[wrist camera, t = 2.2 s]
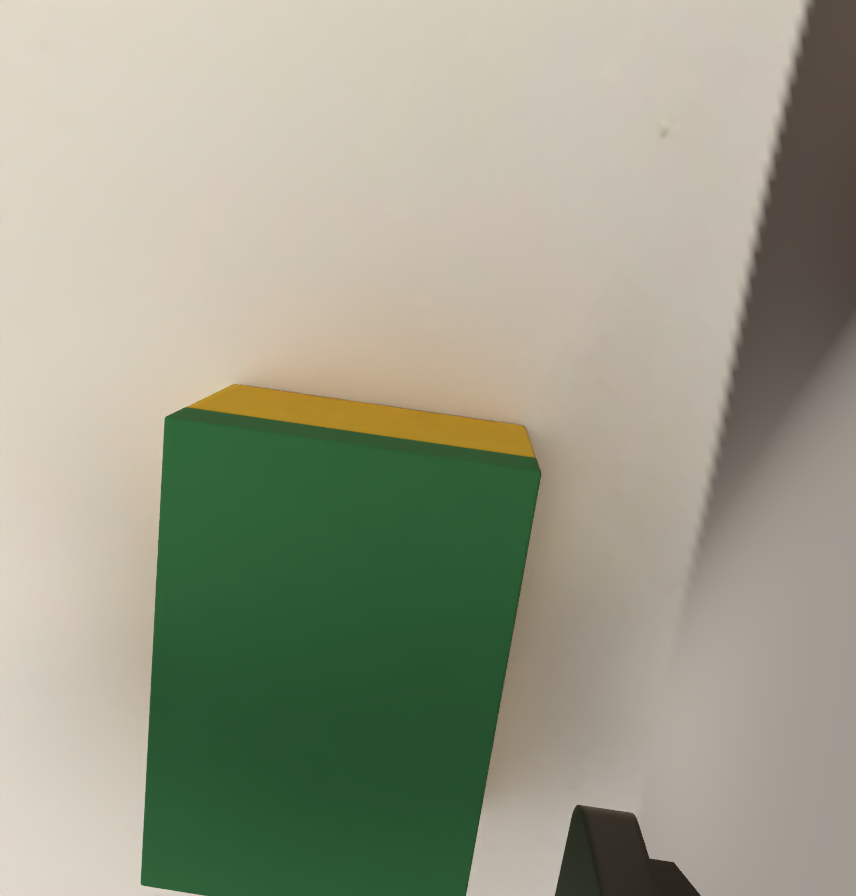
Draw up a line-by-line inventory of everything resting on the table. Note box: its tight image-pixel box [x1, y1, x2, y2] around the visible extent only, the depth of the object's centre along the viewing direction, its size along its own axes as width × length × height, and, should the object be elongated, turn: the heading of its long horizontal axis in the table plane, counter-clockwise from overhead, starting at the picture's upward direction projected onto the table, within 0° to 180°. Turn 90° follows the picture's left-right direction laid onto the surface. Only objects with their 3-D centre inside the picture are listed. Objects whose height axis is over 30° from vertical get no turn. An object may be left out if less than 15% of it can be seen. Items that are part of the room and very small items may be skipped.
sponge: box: [141, 384, 541, 896], centre depth 14 cm, size 6×9×4 cm, turn 172°
